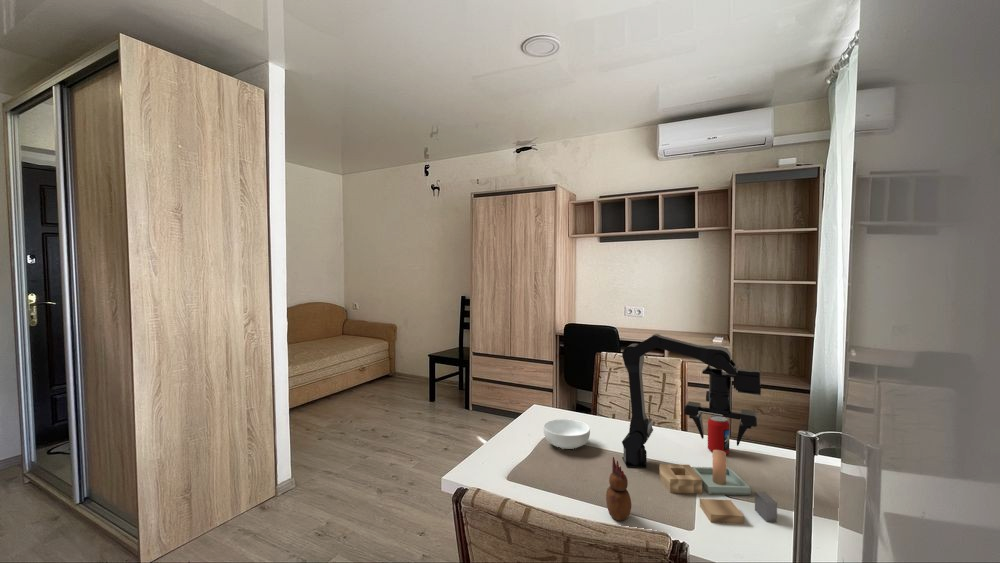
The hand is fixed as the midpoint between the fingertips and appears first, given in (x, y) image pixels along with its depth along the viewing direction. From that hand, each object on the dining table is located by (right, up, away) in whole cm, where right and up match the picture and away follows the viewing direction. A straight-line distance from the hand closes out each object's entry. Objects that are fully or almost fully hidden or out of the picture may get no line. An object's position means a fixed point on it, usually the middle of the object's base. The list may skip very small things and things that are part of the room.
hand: (719, 441), depth 119 cm
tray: (0, -13, 0) cm, 13 cm away
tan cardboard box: (-8, -14, -15) cm, 22 cm away
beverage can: (+11, -13, +22) cm, 28 cm away
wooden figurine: (-35, -14, -15) cm, 40 cm away
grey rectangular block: (+3, -13, -15) cm, 21 cm away
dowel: (0, -12, 0) cm, 12 cm away
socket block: (-12, -13, 0) cm, 18 cm away
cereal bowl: (-41, -13, +28) cm, 51 cm away
